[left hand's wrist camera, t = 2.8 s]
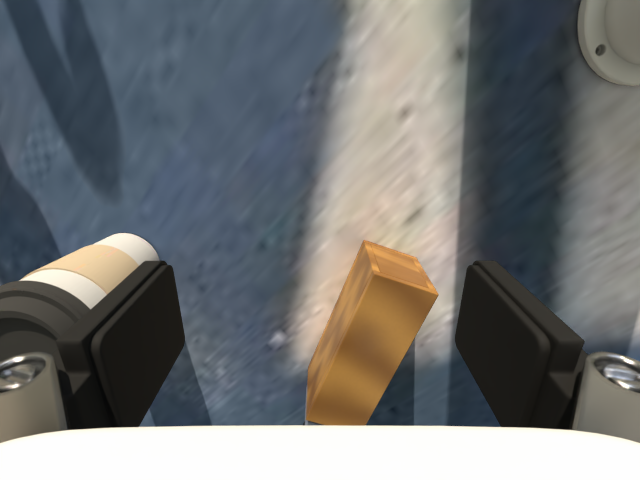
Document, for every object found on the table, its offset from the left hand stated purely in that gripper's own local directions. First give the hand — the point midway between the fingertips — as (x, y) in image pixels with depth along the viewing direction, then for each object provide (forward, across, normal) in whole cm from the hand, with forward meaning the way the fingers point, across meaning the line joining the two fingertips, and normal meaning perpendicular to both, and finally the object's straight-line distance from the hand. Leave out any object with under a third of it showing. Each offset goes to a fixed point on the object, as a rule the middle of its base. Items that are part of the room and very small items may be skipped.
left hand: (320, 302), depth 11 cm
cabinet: (+25, +4, -17) cm, 31 cm away
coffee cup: (+25, -21, -10) cm, 34 cm away
